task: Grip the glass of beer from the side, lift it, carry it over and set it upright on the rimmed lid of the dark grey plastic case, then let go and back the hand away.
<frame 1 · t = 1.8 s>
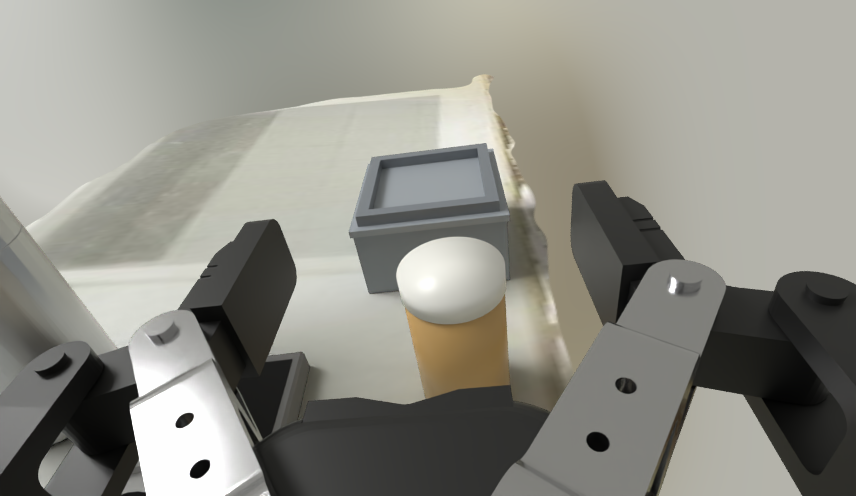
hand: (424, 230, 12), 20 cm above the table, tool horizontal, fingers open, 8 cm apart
glass of beer: (467, 389, 32), on the table
grey case: (438, 245, 47), on the table
electronic device: (197, 440, 33), on the table
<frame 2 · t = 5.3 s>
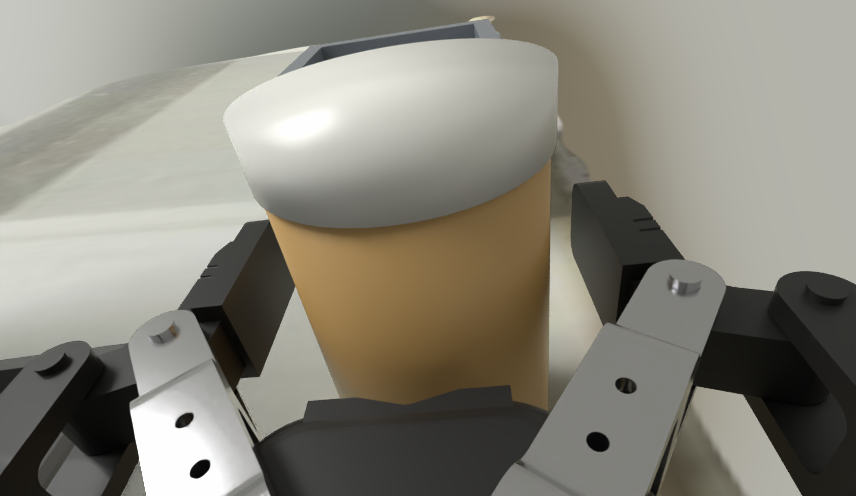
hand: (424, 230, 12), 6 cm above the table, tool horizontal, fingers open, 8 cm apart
glass of beer: (452, 422, 15), on the table
grey case: (413, 181, 30), on the table
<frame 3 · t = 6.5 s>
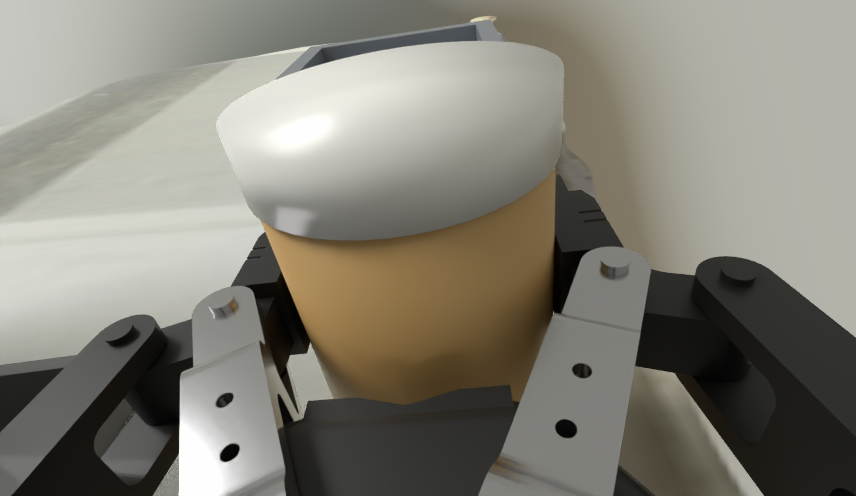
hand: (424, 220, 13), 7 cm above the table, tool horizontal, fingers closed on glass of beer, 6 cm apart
glass of beer: (453, 432, 15), on the table, touching gripper
grey case: (414, 183, 30), on the table
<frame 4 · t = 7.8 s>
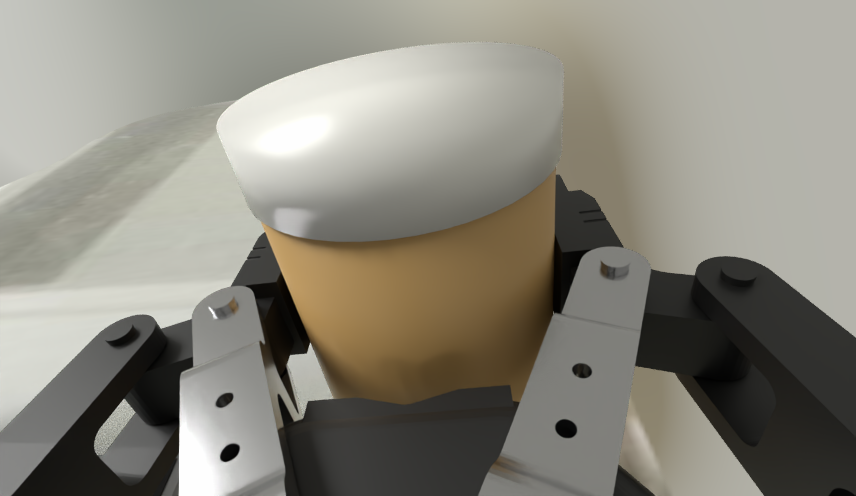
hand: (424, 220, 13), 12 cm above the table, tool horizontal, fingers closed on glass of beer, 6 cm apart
glass of beer: (453, 432, 15), point 6 cm above the table, touching gripper
when the fingers open (14 cm above the table, at t = 14.0 s): glass of beer stays where it is, resting on grey case.
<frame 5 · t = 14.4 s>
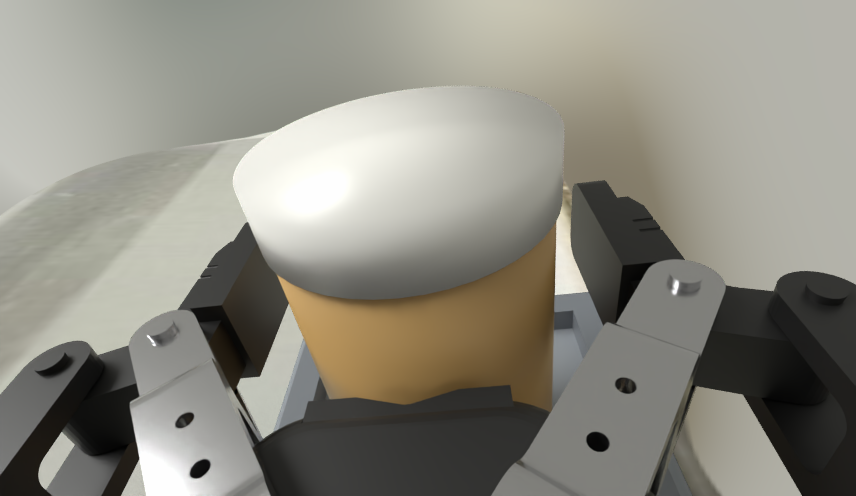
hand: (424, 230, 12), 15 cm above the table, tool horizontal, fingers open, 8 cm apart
glass of beer: (456, 453, 15), point 7 cm above the table, touching grey case
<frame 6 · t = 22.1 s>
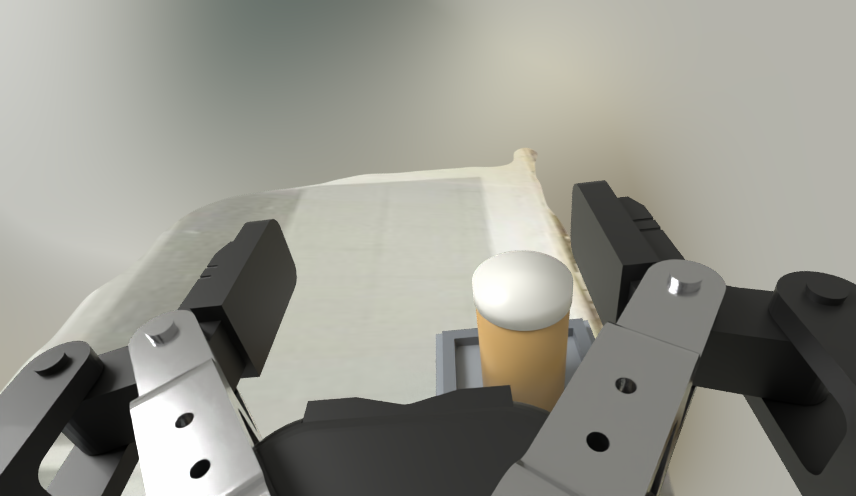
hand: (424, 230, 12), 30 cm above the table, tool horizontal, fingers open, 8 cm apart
glass of beer: (522, 390, 35), point 7 cm above the table, touching grey case
grey case: (524, 441, 39), on the table
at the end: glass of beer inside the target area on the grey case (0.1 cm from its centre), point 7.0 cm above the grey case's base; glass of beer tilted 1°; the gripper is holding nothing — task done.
